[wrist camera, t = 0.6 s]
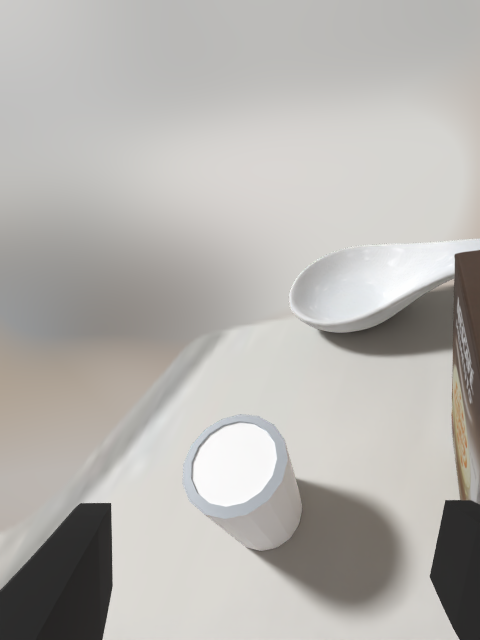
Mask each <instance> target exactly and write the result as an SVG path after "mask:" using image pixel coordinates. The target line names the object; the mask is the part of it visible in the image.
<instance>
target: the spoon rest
mask: <svg viewBox="0 0 480 640" xmlns="http://www.w3.org/2000/svg"><path fill="white" fill-rule="evenodd" d="M476 250H480V239H467V240H454V241H442V242H430V243H410V244H409V243H408V244H372V245H361V246H354V247H349V248H345V249H341V250H338V251H335V252H332V253H329V254H327V255H325V256H323V257H321V258H319V259H318V260H316V261H314V262H313V263H311V264H310V265H309V266H307V267H306V268H305V269H304V270H303V271H302V272H301V273H300V274H299V276H298V277H297V279H296V280H295V282H294V283H293V285H292V287H291V290H290V293H289V305H290V309H291V311H292V312H293V314H294V315H295V316H296V317H297V318H298V319H300V320H301V321H303V322H304V323H306V324H308V325H309V326H312V327H314V328H317V329H320V330H323V331H328V332H338V333H344V332H354V331H360V330H364V329H368V328H371V327H374V326H376V325H378V324H380V323H382V322H384V321H386V320H387V319H389V318H391V317H392V316H394V315H395V314H396V313H398V312H399V311H401V310H402V309H403V308H405V307H406V306H408V305H409V304H411V303H412V302H413V301H415V300H416V299H418V298H419V297H421V296H422V295H424V294H425V293H427V292H429V291H430V290H432V289H434V288H436V287H437V286H439V285H441V284H443V283H445V282H447V281H449V280H452V279H454V278H455V257H454V256H455V254H457V253H461V252H468V251H476Z"/></svg>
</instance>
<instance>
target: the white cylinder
mask: <svg viewBox="0 0 480 640" xmlns="http://www.w3.org/2000/svg"><path fill="white" fill-rule="evenodd" d="M183 486H184V488H185V491H186V493H187V496H188V499H189V501H190V502H191V503H192V504H193V505H194V506H195V507H197V508H198V509H199V510H200V511H201V512H202V513H204V514H205V515H206V516H207V517H209V518H210V519H211V520H212V521H214V522H215V523H216V524H217V525H219V526H220V527H221V528H222V529H224V530H225V531H226V532H227V533H229V534H230V535H231V536H232V537H234V538H235V539H236V540H237V541H239V542H240V543H241V544H242V545H244V546H245V547H247V548H251V549H255V550H258V551H263V550H269V549H274V548H277V547H278V546H280V545H281V544H283V543H284V542H286V541H287V540H289V539H290V538H291V536H292V535H293V533H294V532H295V530H296V529H297V527H298V525H299V523H300V518H301V513H302V509H303V508H302V503H301V497H300V492H299V489H298V485H297V482H296V478H295V475H294V471H293V468H292V464H291V460H290V457H289V453H288V450H287V446H286V443H285V440H284V438H283V437H282V435H281V434H280V432H279V431H278V430H277V428H276V427H275V425H274V424H272V423H270V422H268V421H266V420H265V419H263V418H261V417H259V416H252V415H242V414H240V415H236V416H232V417H228V418H224V419H221V420H219V421H218V422H216V423H215V424H213V425H211V426H210V427H208V428H207V429H205V430H204V431H203V432H202V434H201V435H200V436H199V437H198V438H197V439H196V440H195V442H194V443H193V444H192V445H191V447H190V450H189V452H188V454H187V457H186V459H185V462H184V465H183Z"/></svg>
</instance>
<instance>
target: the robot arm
mask: <svg viewBox="0 0 480 640" xmlns="http://www.w3.org/2000/svg"><path fill="white" fill-rule="evenodd" d="M430 578H431V581H432V583H433V585H434V588H435V590H436V592H437V594H438V597H439V599H440V601H441V603H442V606H443V608H444V610H445V612H446V614H447V616H448V618H449V620H450V622H451V624H452V627H453V629H454V630H455V632H456V634H457V636H458V637H459V639H460V640H480V504H478V503H476V502H474V501H472V500H445V505H444V510H443V515H442V520H441V525H440V530H439V535H438V540H437V544H436V549H435V554H434V559H433V564H432V569H431V574H430ZM112 586H113V584H112V529H111V503H80V504H79V505H78V506H77V507H76V508H75V509H74V510H73V511H72V512H71V513H70V514H69V515H68V517H67V518H66V519H65V520H64V521H63V522H62V523H61V525H60V526H59V527H58V528H57V529H56V530H55V532H54V533H53V534H52V535H51V536H50V537H49V538H48V539H47V541H46V542H45V543H44V544H43V545H42V546H41V547H40V548H39V549H38V551H37V552H36V553H35V554H34V555H33V556H32V557H31V558H30V559H29V560H28V562H27V563H26V564H25V565H24V566H23V567H22V568H21V569H20V570H19V571H18V572H17V573H16V574H15V575H14V576H13V577H12V578H11V580H10V581H9V582H8V583H7V584H6V585H5V586H4V587H3V588H2V589H1V590H0V640H102V638H103V633H104V628H105V623H106V618H107V613H108V607H109V602H110V597H111V591H112Z"/></svg>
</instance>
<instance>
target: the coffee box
mask: <svg viewBox="0 0 480 640" xmlns="http://www.w3.org/2000/svg"><path fill="white" fill-rule="evenodd" d="M454 257H455V280H454V321H453V374H452V437H453V445H454V453H455V460H456V468H457V476H458V484H459V493H460V500H472V501H474V502H476V503H478V504H480V250H476V251H468V252H461V253H457V254H455V256H454Z"/></svg>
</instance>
